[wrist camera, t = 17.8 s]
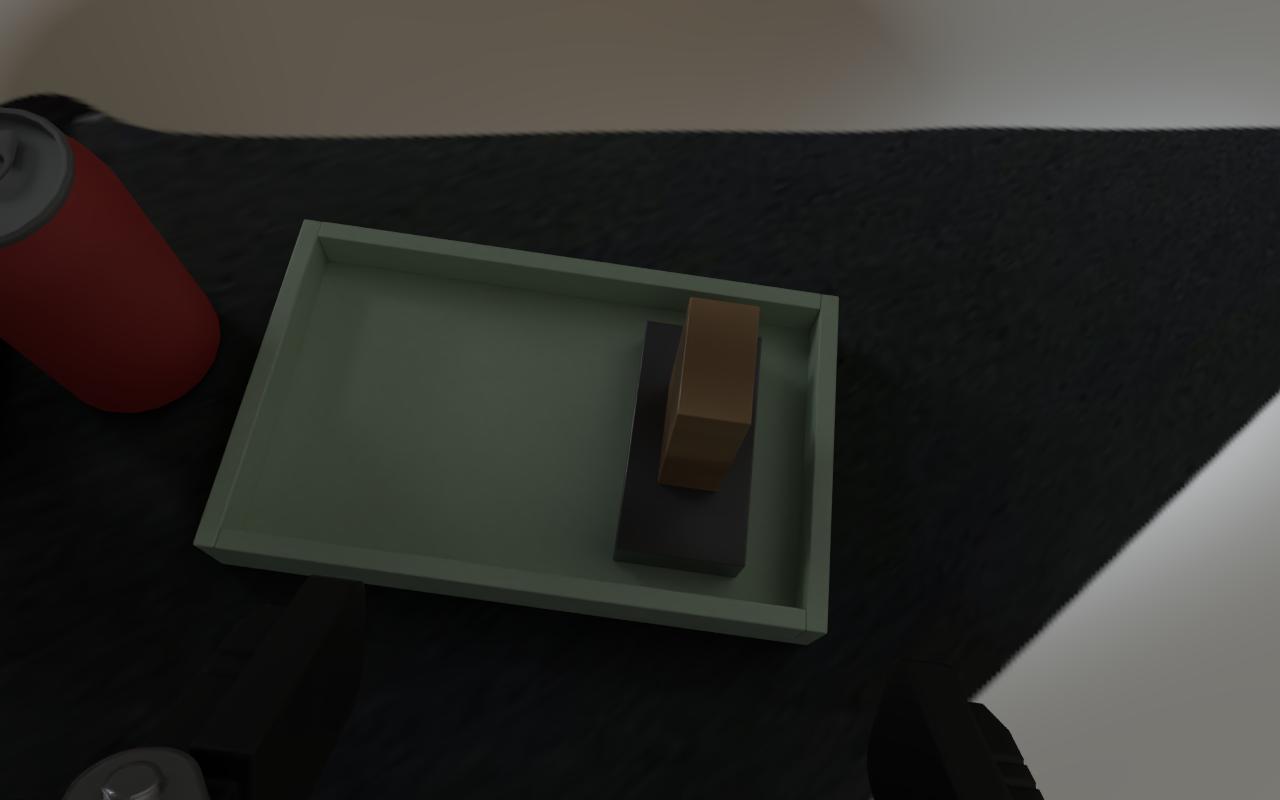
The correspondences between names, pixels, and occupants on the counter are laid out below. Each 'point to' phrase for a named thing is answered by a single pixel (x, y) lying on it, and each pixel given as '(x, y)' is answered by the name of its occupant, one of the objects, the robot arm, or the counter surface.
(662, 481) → the eraser
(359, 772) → the counter surface
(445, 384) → the tray
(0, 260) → the beer can
